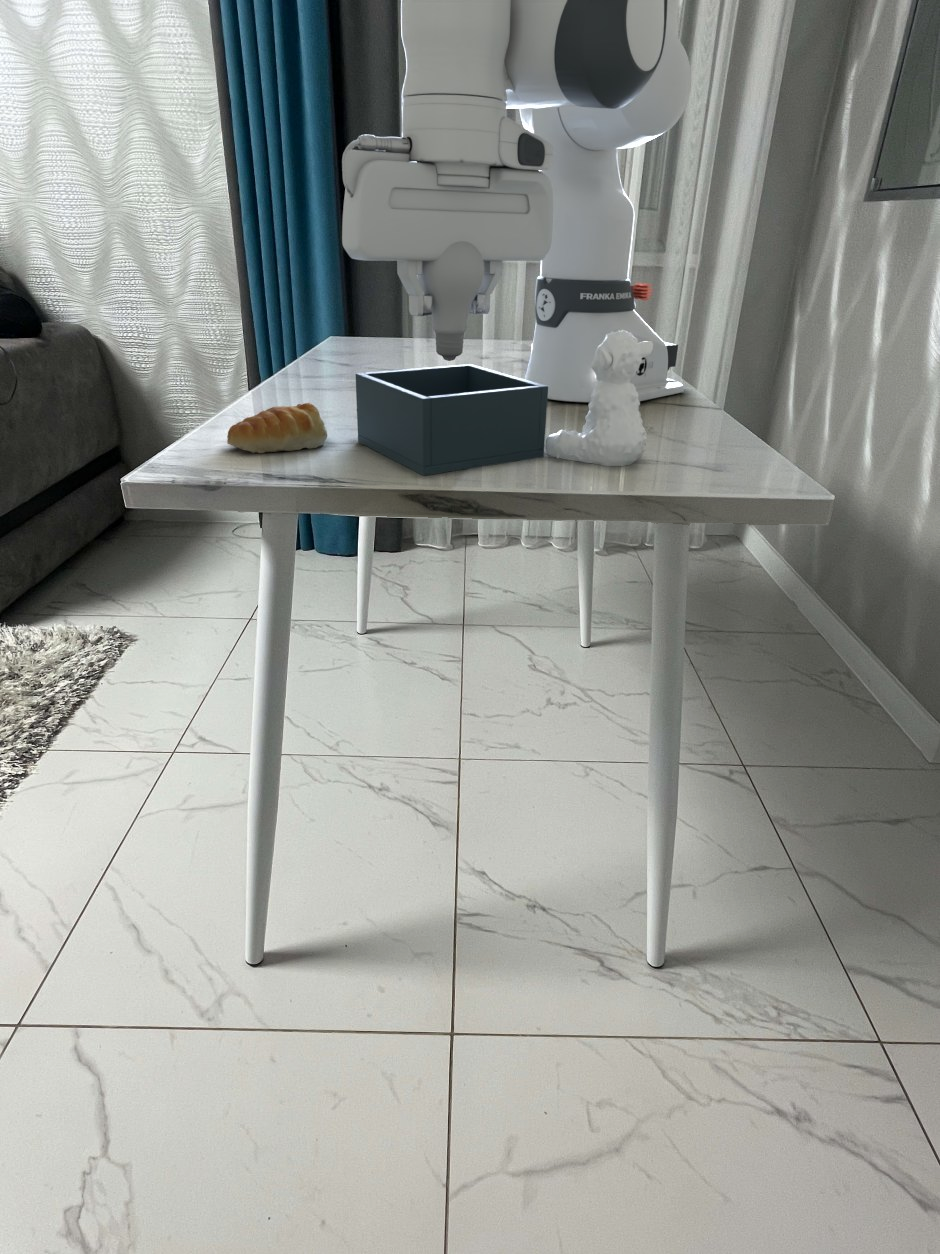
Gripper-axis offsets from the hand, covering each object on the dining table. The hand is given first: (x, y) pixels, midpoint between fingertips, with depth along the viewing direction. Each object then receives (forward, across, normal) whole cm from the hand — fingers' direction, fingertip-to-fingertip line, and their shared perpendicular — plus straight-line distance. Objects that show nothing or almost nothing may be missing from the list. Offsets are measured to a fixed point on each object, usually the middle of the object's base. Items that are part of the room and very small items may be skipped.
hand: (450, 314), depth 75 cm
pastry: (+13, -14, +9) cm, 21 cm away
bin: (+13, 0, 0) cm, 13 cm away
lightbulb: (+4, 0, 0) cm, 4 cm away
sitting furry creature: (+13, +12, -10) cm, 20 cm away
